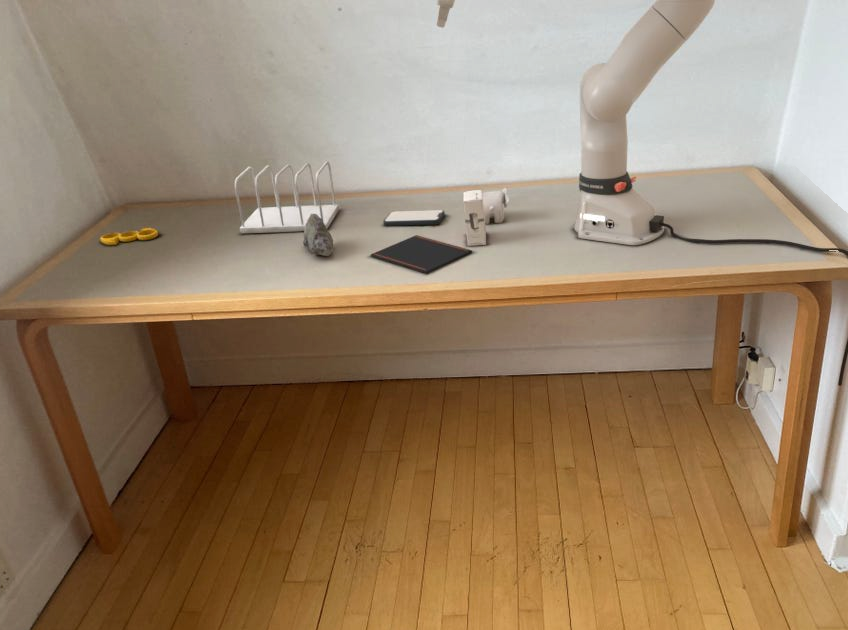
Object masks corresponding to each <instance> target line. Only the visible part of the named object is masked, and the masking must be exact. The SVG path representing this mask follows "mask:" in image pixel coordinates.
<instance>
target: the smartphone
mask: <svg viewBox="0 0 848 630" xmlns="http://www.w3.org/2000/svg"><path fill="white" fill-rule="evenodd" d="M445 215H446V214H445V210H443V209H435V210H433V209H431V210H402V211H401V210H400V211H391V212H389V213H388V214H387V216H386V217H385V218H384V219H383V225H384V226H385V227H395V226H429V225H431V226H432V225H434V226H435V225H439V224H440V223H441V222H442V220H443V219H444V217H445Z"/></svg>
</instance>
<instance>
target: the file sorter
mask: <svg viewBox="0 0 848 630" xmlns="http://www.w3.org/2000/svg"><path fill="white" fill-rule="evenodd" d="M292 167H293V166H292V165H291V164H290V163H288V164H286V165H285V166H284V167H283V168H281V170H279V171H278V172H277V173H276V174H275V177H274V173H273V168H272V167H271V164H267V165H266V166H264V167H263V168H262V169H261V170H260V171H259V173H258V174H256V175H255V170H254V168H253V167H252V166H248V167H246V169H244V170H243V171H242V172H241V173H240V174H239V175H238V176H237V177H236V178H235V180H234V192H235V197H236V202H237V207H238V212H239V217H240V222H241V226H240V227H239V233H240V234H264V233H265V234H269V233H291V232H304V228H305V224H306V223H307V220H308V218H309V217H310V214H317V215H318V216H319V217H320V218H321V219H322V220H323V222H324V225H325V227H326V229H327V230H328V228H329V226H330V225H331V223H332V222H333V220H334V218H335V217H336V216H337V213H338V212H339V211H340V206H339V204H337V203H336V198H335V190H334V182H333V175H332V169H331V164H330V162H329V161H328V160H327V161H325V162H324V163H323V164H322V166H321V167H320V168H319V169H318V170H317V171H316V174H315V182H314V177H313V171H312V166H311V164H310V163H308V162H307V163H305V164H304V165H303V166H302V167H301V168H300V169H299V170H298V171H297V172H296V173H295V175H294V172H293V168H292ZM307 167H308V170H309V177H310V185H311V190H312V198H313V204H314V205H312V204H311V205H301V199H300V193H299V186H298V177H299V175H300V174H301V173H302V172H303V171H304V170H305V169H306V168H307ZM325 167H327V168H328V175H329V180H330V181H329V182H330V190H331V197H332V204H322V201H321V194H320V187H319V185H320V184H319V177H320V176H319V175H320V173H322V171H323V170H324V169H325ZM288 168H289V172H290V177H291V182H292V183H291V184H292V191H293V197H294V202H295V205H289V206H282V204H281V199H280V193H279V185H278V178H279V176H280V175H282V174H283V172H285V170H287V169H288ZM267 169H269V172H270V178H271V183H272V186H273V192H274V197H275V198H274V199H275V203H276V206H267V207H265V206H264V207H262V203H261V197H260V191H259V186H258V185H259V184H258V180H259V177H260V176H262V174H264V173H265V171H267ZM248 171H251V174H252V180H253V185H254V190H255V195H256V201H257V206H258V207H257V208H256V209H255V210H254V211H253V212H252V214H251V215H250V216H249V217H248V218H247V219H246V220H244V216H243V211H242V207H241V206H242V205H241V201H240V196H239V190H238V183H239V182H238V181H239V180H240V179H241V178H242V177H243V176H244V175H245V174H246V173H248ZM314 183H315V184H314ZM315 188H316V191H315ZM316 193H317V198H316ZM317 200H318V204H317Z"/></svg>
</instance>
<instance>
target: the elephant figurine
mask: <svg viewBox="0 0 848 630" xmlns="http://www.w3.org/2000/svg"><path fill="white" fill-rule="evenodd" d="M482 198H483V207H484V217H485V225H489V224H490V222H491V220H490V217H491V216H493V219H494V221H493V223H496V224H502V223H503V222H504V217H505V213H504V208H505V209H506V208H508V202H509V201H510V198H509V195H508V191H507V187H506V186H505V187H504V188H502V190H494V191H482Z"/></svg>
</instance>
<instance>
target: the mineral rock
mask: <svg viewBox="0 0 848 630" xmlns="http://www.w3.org/2000/svg"><path fill="white" fill-rule="evenodd" d="M302 244H303V246H305V247H307V249H308V250H309V252H310V253H311V254H312V255H315V256H316V255H319V256H323V257H328V256H330V255H332V254H333V250H334V248H335V247H334V238H333V236H332V234H331V232H330V231H329V230H328V228H327V229H326V227H325V225H324V222H323V220H322V219H321V218H320V217H319V216H318V215H317V214H310V217H309V218H308V220H307V223H306V224H305V228H304V231H303V241H302Z"/></svg>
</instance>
